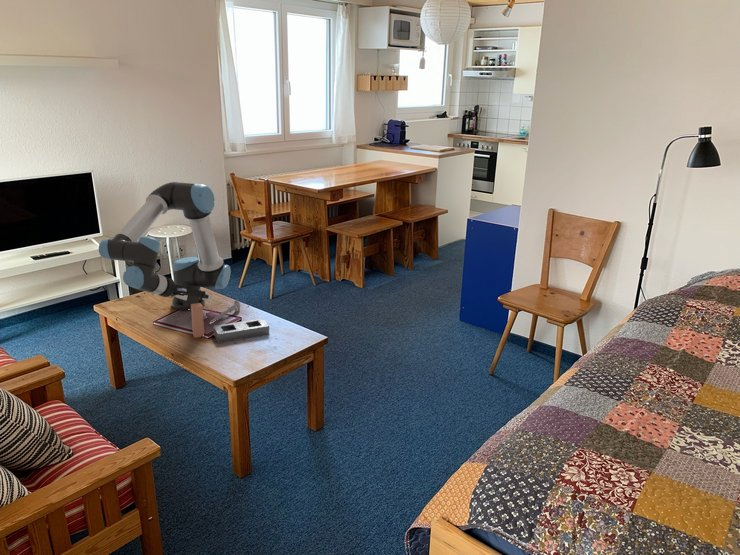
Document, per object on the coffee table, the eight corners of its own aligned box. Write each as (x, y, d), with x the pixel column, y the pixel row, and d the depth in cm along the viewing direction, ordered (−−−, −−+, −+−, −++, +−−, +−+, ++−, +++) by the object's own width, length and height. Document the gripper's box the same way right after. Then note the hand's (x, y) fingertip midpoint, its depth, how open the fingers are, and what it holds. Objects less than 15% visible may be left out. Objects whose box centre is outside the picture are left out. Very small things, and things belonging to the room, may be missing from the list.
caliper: (238, 310, 271) (237, 298, 269) (240, 311, 270) (239, 298, 268) (207, 325, 254) (207, 312, 252) (209, 325, 253) (209, 312, 251)
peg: (192, 334, 244) (190, 304, 239) (202, 332, 245) (200, 302, 241) (194, 337, 240) (192, 307, 236) (204, 336, 242) (202, 306, 237)
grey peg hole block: (213, 334, 244) (213, 325, 243) (262, 326, 254) (262, 318, 253) (218, 342, 237) (218, 334, 236) (269, 334, 247) (269, 326, 246)
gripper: (135, 293, 222) (174, 305, 240) (182, 296, 210) (220, 308, 229) (139, 275, 223) (178, 288, 242) (187, 277, 212) (224, 290, 230)
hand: (199, 298), depth 235 cm, fingers open, 13 cm apart
